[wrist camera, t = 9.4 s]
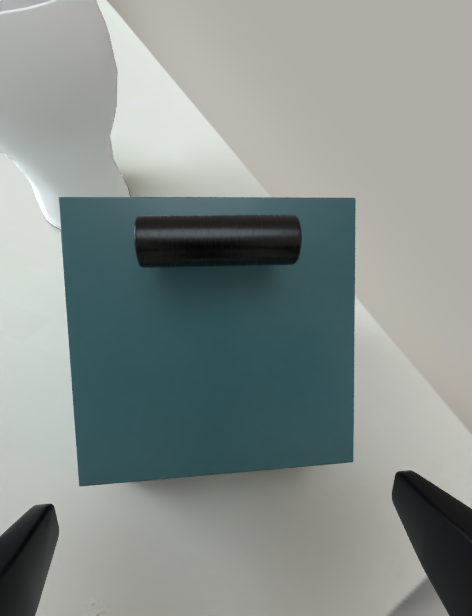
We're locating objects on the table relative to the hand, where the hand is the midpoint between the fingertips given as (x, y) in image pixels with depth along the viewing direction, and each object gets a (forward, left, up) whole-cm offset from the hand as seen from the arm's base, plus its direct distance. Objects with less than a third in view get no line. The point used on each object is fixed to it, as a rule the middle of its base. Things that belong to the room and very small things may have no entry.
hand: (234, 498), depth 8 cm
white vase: (+22, +14, -13) cm, 29 cm away
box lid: (+6, +1, -3) cm, 6 cm away
